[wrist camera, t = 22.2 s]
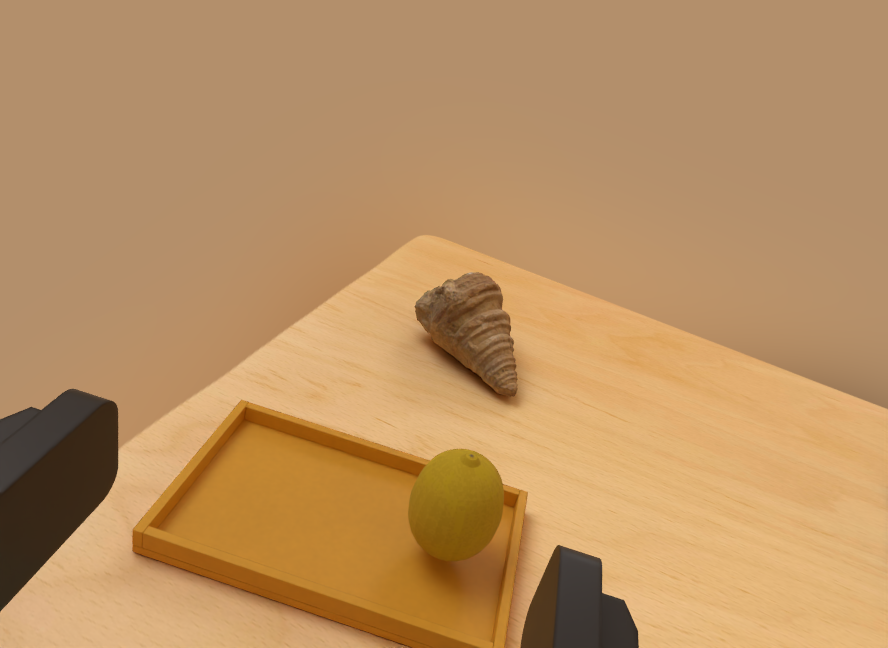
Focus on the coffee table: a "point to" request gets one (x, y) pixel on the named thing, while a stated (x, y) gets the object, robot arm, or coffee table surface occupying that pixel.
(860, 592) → the coffee table surface
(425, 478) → the lemon
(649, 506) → the coffee table surface
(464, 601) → the yellow tray
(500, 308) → the seashell
